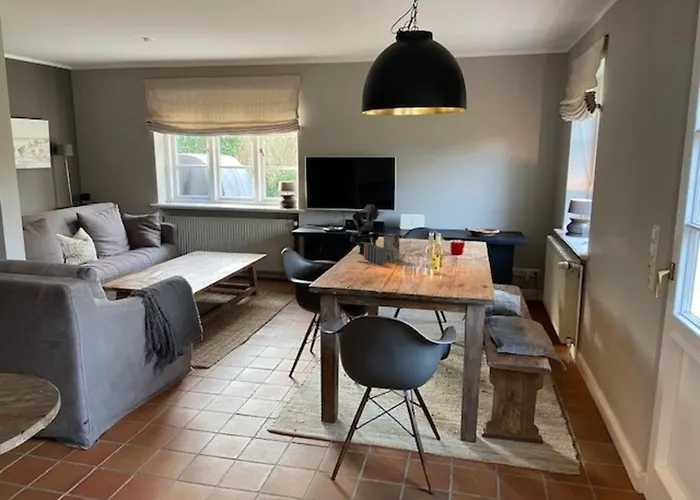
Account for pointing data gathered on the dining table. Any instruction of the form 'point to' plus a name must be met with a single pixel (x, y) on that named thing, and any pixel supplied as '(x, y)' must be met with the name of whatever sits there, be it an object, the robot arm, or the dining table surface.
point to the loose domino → (365, 250)
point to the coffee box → (391, 247)
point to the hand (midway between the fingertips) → (368, 247)
